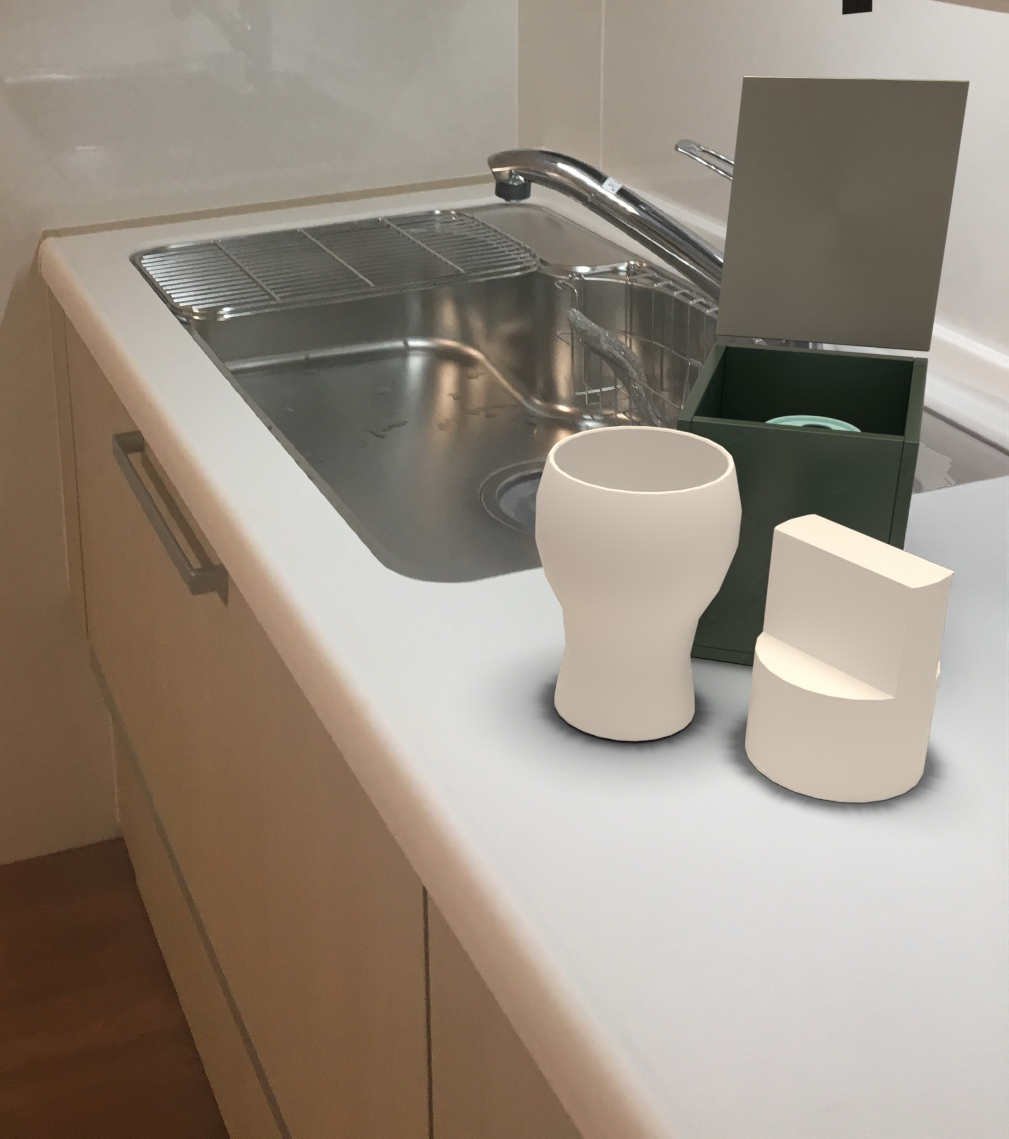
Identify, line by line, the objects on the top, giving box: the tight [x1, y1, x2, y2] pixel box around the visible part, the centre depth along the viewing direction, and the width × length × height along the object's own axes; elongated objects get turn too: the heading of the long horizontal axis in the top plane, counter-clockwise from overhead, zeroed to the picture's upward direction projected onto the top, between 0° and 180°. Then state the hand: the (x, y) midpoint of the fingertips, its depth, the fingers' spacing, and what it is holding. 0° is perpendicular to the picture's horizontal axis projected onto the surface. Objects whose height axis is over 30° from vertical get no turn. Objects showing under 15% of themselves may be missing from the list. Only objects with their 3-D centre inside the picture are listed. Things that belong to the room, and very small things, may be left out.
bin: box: [675, 340, 929, 666], centre depth 94 cm, size 15×13×15 cm
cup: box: [534, 425, 742, 742], centre depth 84 cm, size 11×11×15 cm
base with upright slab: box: [744, 514, 954, 803], centre depth 80 cm, size 9×9×12 cm
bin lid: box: [714, 75, 970, 353], centre depth 94 cm, size 16×13×1 cm
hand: (857, 13), depth 83 cm, fingers closed
